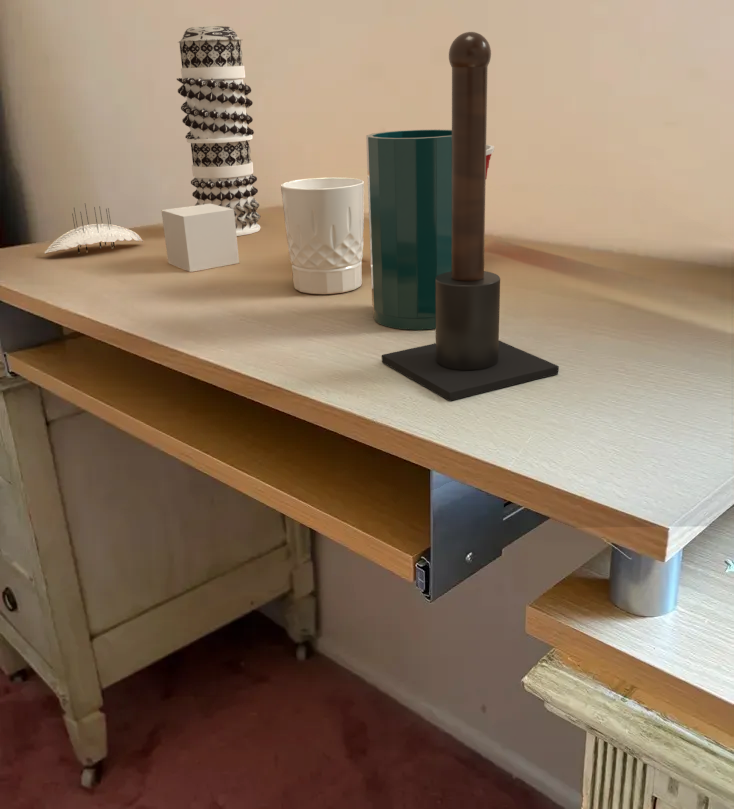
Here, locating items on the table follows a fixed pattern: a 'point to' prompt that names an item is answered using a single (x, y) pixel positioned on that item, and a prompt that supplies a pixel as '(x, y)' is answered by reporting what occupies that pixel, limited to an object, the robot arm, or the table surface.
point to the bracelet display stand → (219, 122)
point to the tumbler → (409, 223)
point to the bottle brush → (468, 222)
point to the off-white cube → (200, 237)
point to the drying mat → (460, 383)
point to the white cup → (325, 233)
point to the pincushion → (92, 236)
